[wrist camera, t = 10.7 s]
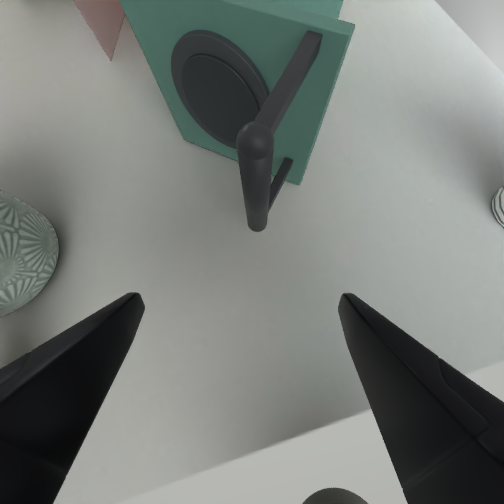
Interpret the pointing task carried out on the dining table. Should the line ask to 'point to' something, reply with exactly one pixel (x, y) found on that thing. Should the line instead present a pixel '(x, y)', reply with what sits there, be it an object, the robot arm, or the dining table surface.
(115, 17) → the greeting card
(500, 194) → the cup
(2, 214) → the planter
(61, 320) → the dining table surface
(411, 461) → the robot arm
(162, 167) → the dining table surface
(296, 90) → the washer door
